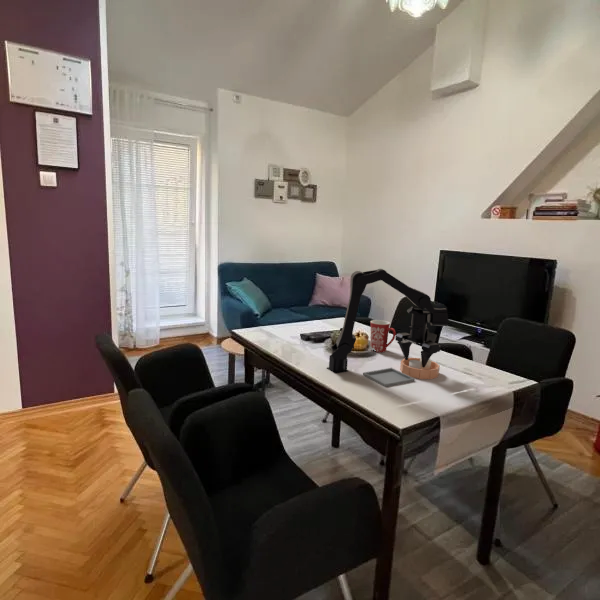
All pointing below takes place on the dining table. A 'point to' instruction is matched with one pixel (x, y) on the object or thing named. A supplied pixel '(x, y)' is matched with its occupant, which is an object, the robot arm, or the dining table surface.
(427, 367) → the pebble sand
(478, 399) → the dining table surface
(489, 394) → the dining table surface
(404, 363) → the bowl
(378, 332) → the mug
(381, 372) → the parts tray
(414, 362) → the pebble grey
